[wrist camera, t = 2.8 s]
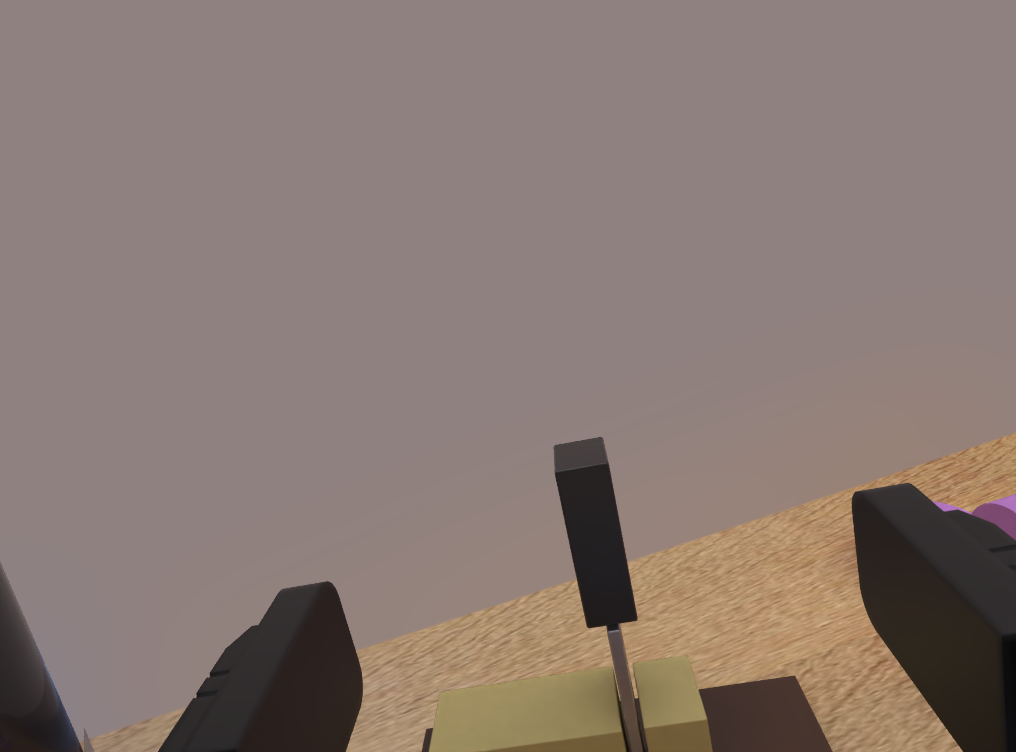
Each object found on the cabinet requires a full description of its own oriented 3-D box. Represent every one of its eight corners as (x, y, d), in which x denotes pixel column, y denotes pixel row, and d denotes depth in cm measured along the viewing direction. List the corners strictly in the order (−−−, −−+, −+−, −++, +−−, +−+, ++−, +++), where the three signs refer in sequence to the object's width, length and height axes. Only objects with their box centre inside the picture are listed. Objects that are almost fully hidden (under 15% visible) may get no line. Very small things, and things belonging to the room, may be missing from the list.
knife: (625, 814, 25) (554, 476, 21) (616, 750, 27) (553, 441, 24) (673, 808, 25) (609, 466, 21) (660, 744, 27) (601, 432, 24)
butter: (451, 842, 25) (426, 758, 24) (461, 768, 28) (439, 691, 27) (639, 818, 24) (621, 731, 24) (628, 744, 28) (612, 665, 27)
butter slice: (660, 815, 24) (643, 727, 24) (647, 742, 27) (631, 662, 27) (722, 807, 24) (707, 719, 23) (701, 734, 27) (688, 654, 26)
